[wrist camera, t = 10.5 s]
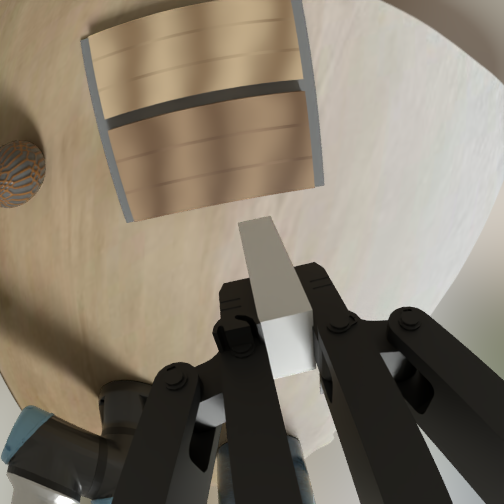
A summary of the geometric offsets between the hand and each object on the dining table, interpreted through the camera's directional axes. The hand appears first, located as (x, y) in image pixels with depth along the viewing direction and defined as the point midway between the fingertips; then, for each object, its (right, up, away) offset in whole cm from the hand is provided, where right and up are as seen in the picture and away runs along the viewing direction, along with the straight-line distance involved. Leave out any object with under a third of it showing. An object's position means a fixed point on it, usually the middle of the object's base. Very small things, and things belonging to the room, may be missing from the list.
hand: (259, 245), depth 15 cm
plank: (-6, +19, +10) cm, 22 cm away
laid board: (-4, +10, +15) cm, 18 cm away
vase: (-26, +10, +13) cm, 30 cm away
